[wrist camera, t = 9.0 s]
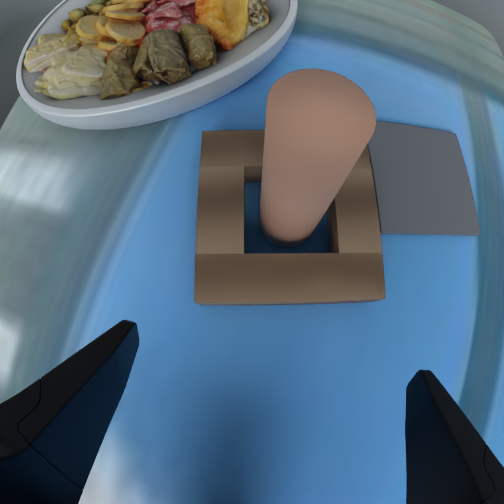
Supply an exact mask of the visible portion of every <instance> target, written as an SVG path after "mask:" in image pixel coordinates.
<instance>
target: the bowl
mask: <svg viewBox="0 0 504 504" xmlns="http://www.w3.org/2000/svg"><path fill="white" fill-rule="evenodd" d="M297 7H298V2H297V0H63V1H62V2H61V3H60V4H59V5H57V6H56V7H55V8H54V9H53V10H52V11H51V12H50V13H49V14H48V15H47V16H46V17H45V18H44V19H43V20H42V22H41V23H40V24H39V25H38V26H37V28H36V29H35V30H34V32H33V33H32V35H31V36H30V38H29V39H28V41H27V43H26V45H25V46H24V48H23V51H22V53H21V56H20V58H19V62H18V66H17V73H16V80H17V87H18V90H19V92H20V94H21V96H22V98H23V99H24V100H25V102H26V103H27V104H28V105H29V106H30V107H31V108H32V109H33V110H34V111H35V112H36V113H38V114H39V115H41V116H42V117H44V118H46V119H47V120H49V121H52V122H54V123H57V124H60V125H63V126H67V127H71V128H77V129H86V130H111V129H121V128H128V127H135V126H140V125H145V124H149V123H154V122H158V121H161V120H165V119H168V118H171V117H175V116H178V115H180V114H183V113H186V112H189V111H191V110H194V109H196V108H199V107H201V106H203V105H206V104H208V103H210V102H212V101H214V100H216V99H218V98H220V97H222V96H224V95H226V94H228V93H229V92H231V91H233V90H235V89H236V88H238V87H239V86H241V85H243V84H244V83H246V82H247V81H248V80H250V79H251V78H253V77H254V76H255V75H256V74H258V73H259V72H260V71H261V70H263V69H264V68H265V67H266V66H267V65H268V64H269V63H270V62H271V61H272V60H273V59H274V58H275V57H276V56H277V54H278V53H279V52H280V51H281V49H282V48H283V46H284V45H285V44H286V42H287V40H288V38H289V37H290V35H291V32H292V30H293V27H294V24H295V21H296V15H297Z"/></svg>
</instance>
